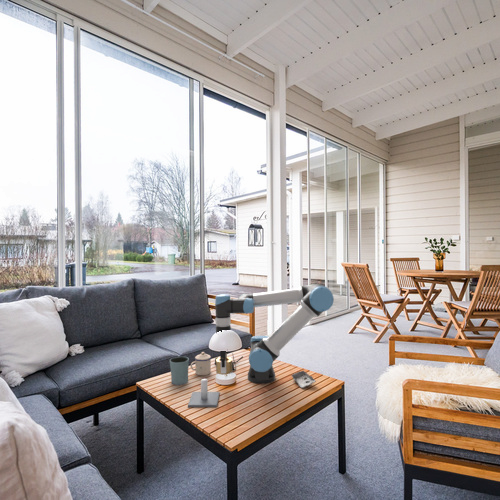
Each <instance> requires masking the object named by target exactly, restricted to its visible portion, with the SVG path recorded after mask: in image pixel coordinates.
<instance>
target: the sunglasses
mask: <svg viewBox="0 0 500 500" xmlns="http://www.w3.org/2000/svg"><path fill="white" fill-rule="evenodd" d="M231 354H232V372H233V371H236V365H235V364H236V363H238V362H240V361H241V360H242V359H243V358H244V356H241V357H240V358H239V359H238V360H237V361H236V360H235V358H234V353H233V352H232V353H231ZM218 358H219V357H215V358H214V365H215V366H216V359H218Z"/></svg>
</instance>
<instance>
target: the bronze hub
mask: <svg viewBox="0 0 500 500" xmlns="http://www.w3.org/2000/svg"><path fill="white" fill-rule="evenodd" d="M219 359H220V357H218V359H216V365H215V368H216V370H215V371H216V374H218V375H230V374H232V373H233V370H232V362H233V357H232V358H231V356H227V357H226V373H221V361H219Z"/></svg>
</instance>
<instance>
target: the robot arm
mask: <svg viewBox="0 0 500 500" xmlns="http://www.w3.org/2000/svg"><path fill="white" fill-rule="evenodd" d="M298 303H300V305H298V306H297V308H296V309H294V311H292V313H290V315H288V317H287V318H286V319H285V320H284V321H283V322H282V323H281V324H280V325H279V326H278V327H277V328H276V329H275V330H274V331H273V332H272V333H271V334H270V335H269V336H268V335H254V336H251V337H250V351H249V354H248V363H249V365H250V367H249V369H248V372H247V380H248V381H249V382H250V383H253V384H257V385H258V384H261V385H265V384H271V383H273V382H275V380H276V373H275V370H274V365H273V363H274V362H275V360H277V359H278V358H279V357H280V356H281V353H280V352H281V350H282V349H283V348H284V347H285V346H286V345H287V344H288V343H289V342H290V341H291V340H292V339H293V338H294V337H295V336H296V335H297V334H299V332H300V331H302V329H303V328H304V327H305V326H306V325H307V324H308V323H309V322H310V321H311V320H312V319H313V318H318V317H320V316H321V315H322V314H323V312H327V311H329V310H330V309H331V307H333V305H334V295H333V292H332V291H331V290H330V288H328V287H327V286H325V285H324V284H321V283H312V284H307V285H300V286H299V287H298V288H290V289H283V290H272V291H265V292H256V293H242V294H240V295H239V296H238V297H237V298H231V295H230V294H227V293H226V294H224V293H221V294H217V295H216V296H215V303H214V305H215V318H214V321H215V333H216V334H217V332H219V331H221V332H222V330H231V331H232V328H231V324H232V323H231V321H232V320H231V317H232V316H231V314H233V315H234V314H241V315H242V314H253V313H254V308H261V307H263V308H264V307H270V306H279V305H280V306H281V305H287V304H298ZM219 351H220V350H219ZM219 353H220V355H219V356H220V357H219V358H220V359H219V361H221V373H226V357H228V354H229V351H228V352H226V351H220V352H219Z"/></svg>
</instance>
